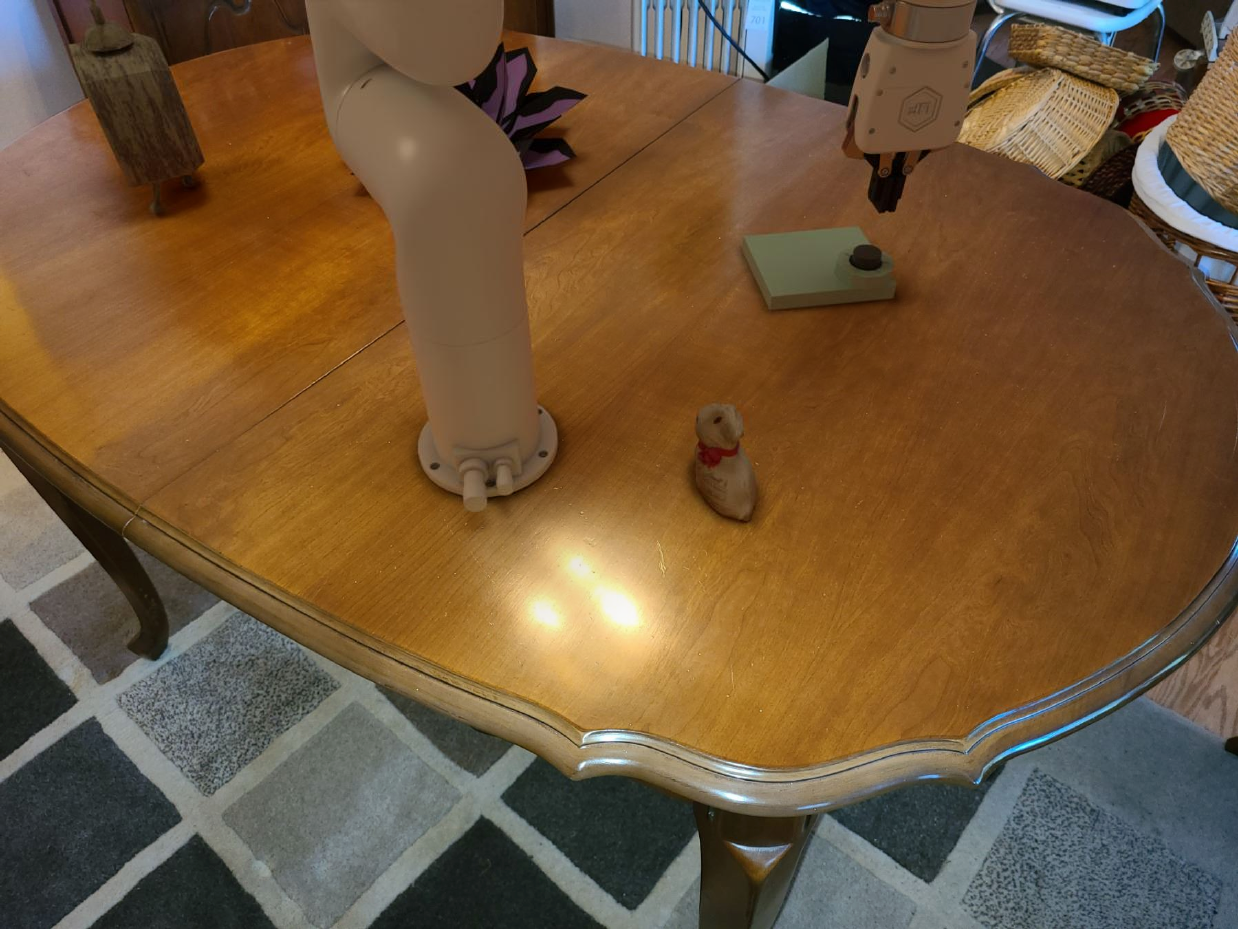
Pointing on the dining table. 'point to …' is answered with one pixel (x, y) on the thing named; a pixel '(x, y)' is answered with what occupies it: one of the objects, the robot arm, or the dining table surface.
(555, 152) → the decorative flower
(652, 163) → the dining table surface
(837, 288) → the scale
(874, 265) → the button
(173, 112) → the tabletop clock
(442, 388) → the robot arm
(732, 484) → the chocolate bunny
